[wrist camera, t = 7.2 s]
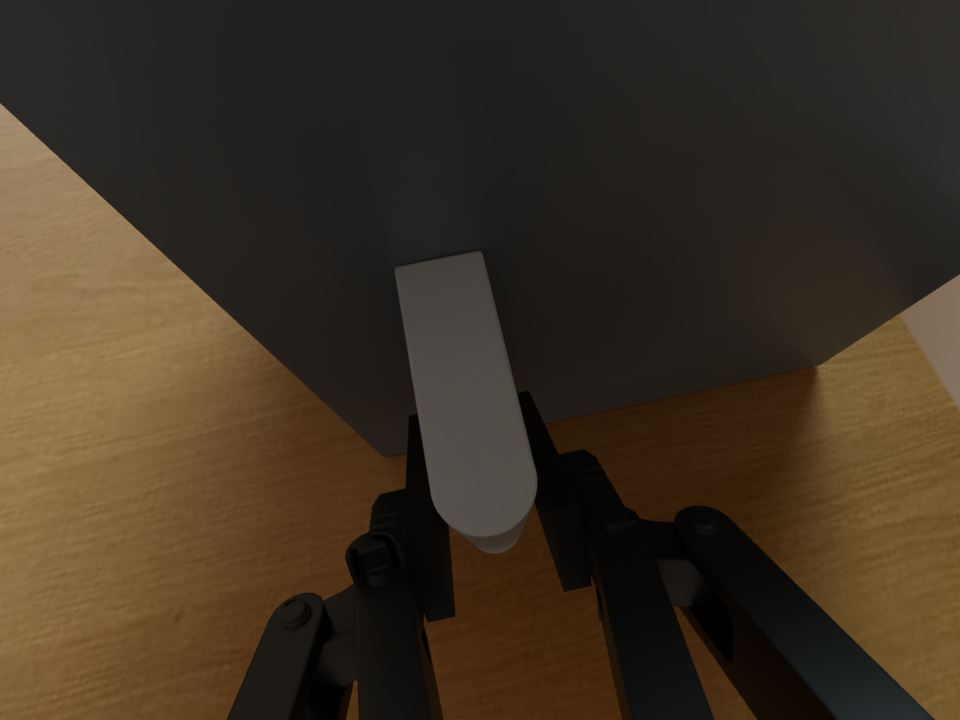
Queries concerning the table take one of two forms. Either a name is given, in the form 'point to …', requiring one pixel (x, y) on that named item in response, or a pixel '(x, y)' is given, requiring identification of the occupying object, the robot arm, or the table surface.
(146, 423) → the table surface
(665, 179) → the cupboard door
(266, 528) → the table surface
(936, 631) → the table surface
